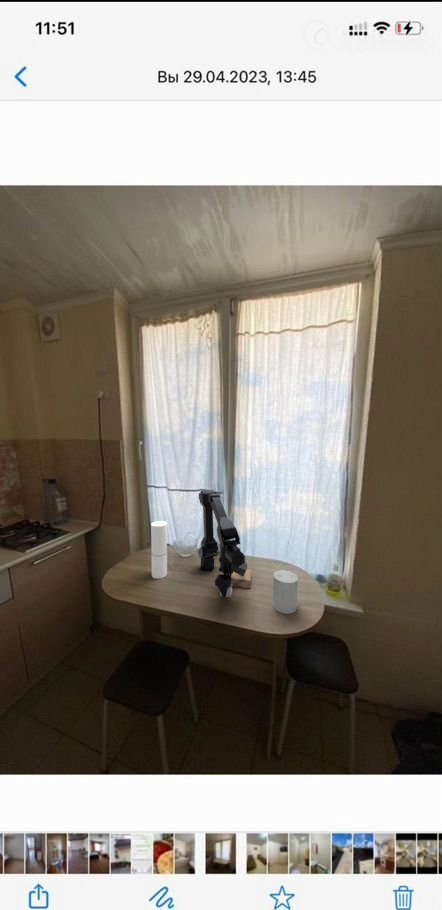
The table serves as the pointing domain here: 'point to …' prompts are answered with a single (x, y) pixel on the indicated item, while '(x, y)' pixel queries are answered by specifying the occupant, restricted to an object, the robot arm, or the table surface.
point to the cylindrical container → (159, 549)
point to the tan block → (242, 579)
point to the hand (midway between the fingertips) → (226, 590)
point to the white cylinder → (285, 591)
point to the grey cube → (228, 591)
